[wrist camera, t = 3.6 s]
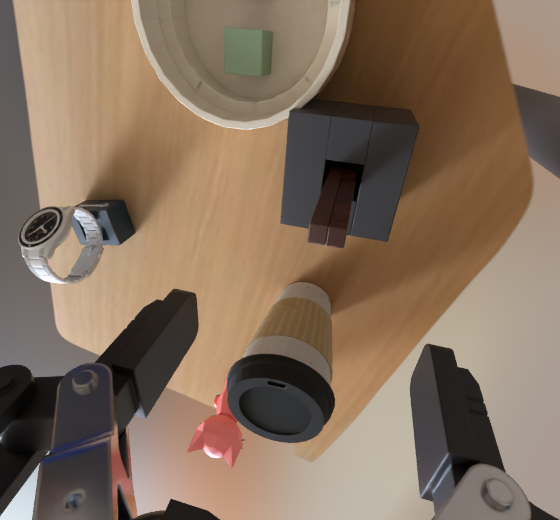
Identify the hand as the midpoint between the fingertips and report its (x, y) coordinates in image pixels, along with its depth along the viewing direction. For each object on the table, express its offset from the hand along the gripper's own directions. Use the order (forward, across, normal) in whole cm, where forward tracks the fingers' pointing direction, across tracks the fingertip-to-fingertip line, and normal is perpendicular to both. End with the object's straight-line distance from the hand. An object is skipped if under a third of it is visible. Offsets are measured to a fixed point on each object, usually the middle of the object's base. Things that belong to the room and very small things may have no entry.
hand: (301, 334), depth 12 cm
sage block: (+23, +9, -8) cm, 26 cm away
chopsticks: (+24, 0, 0) cm, 24 cm away
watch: (+24, +27, +11) cm, 38 cm away
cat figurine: (+24, +10, +36) cm, 44 cm away
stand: (+24, 0, 0) cm, 24 cm away
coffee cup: (+24, +2, +18) cm, 30 cm away
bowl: (+24, +9, -10) cm, 27 cm away
